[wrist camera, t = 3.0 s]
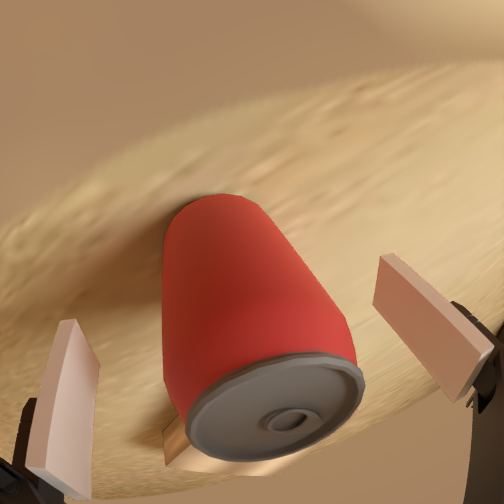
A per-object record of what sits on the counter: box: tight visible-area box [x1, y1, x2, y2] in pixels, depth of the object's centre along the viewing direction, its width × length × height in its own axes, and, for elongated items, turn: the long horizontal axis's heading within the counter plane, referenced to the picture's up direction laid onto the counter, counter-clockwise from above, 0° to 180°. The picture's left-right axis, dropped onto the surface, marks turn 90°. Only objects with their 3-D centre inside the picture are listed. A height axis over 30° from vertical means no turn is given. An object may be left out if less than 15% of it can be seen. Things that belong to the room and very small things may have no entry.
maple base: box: [163, 409, 360, 476], centre depth 26 cm, size 13×13×4 cm
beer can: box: [162, 194, 365, 462], centre depth 13 cm, size 7×7×12 cm
